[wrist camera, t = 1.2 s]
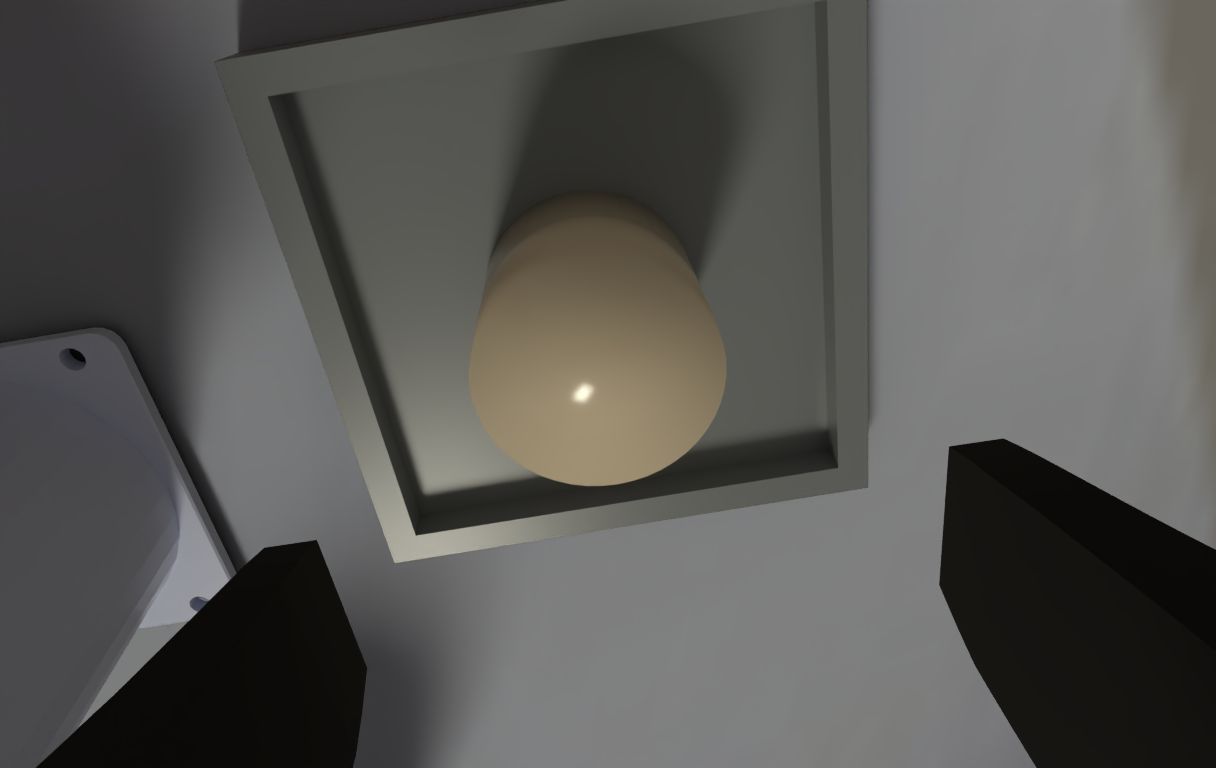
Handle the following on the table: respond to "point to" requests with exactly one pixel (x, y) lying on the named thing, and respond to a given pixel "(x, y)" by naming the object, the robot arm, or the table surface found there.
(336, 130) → the tray
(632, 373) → the cream domed cylinder
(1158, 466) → the table surface
